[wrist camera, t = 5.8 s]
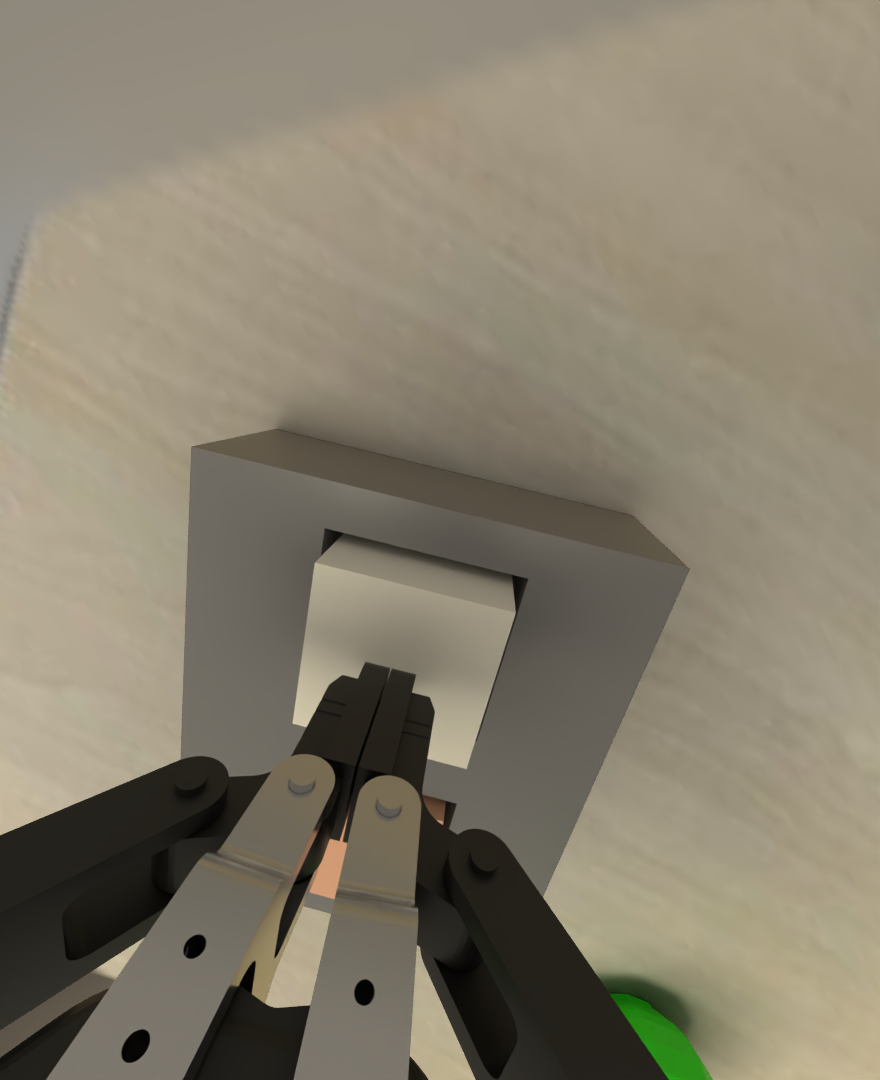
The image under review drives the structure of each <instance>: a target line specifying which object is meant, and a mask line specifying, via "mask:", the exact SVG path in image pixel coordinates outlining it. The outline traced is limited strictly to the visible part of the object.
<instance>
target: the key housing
mask: <svg viewBox="0 0 880 1080" xmlns="http://www.w3.org/2000/svg"><path fill="white" fill-rule="evenodd" d="M344 533H346V534H350V535H354V536H358V537H362V538H366V539H370V540H374V541H378V542H382V543H386V544H390V545H394V546H398V547H402V548H406V549H410V550H414V551H418V552H422V553H426V554H431V555H435V556H439V557H443V558H447V559H451V560H455V561H459V562H463V563H467V564H471V565H475V566H479V567H483V568H487V569H491V570H495V571H499V572H503V573H507V574H511V575H512V581H513V591H514V600H515V610H516V614H515V617H514V620H513V623H512V627H511V630H510V633H509V636H508V639H507V642H506V646H505V649H504V652H503V655H502V658H501V661H500V665H499V668H498V671H497V674H496V677H495V680H494V683H493V687H492V690H491V693H490V696H489V699H488V702H487V706H486V709H485V712H484V715H483V718H482V721H481V725H480V728H479V731H478V734H477V737H476V740H475V744H474V747H473V750H472V753H471V756H470V759H469V763H468V766H467V769H464V768H460V767H457V766H453V765H449V764H445V763H441V762H437V761H434V760H430V759H427V763H426V770H425V776H424V782H423V789H422V794H423V795H426V796H430V797H434V798H437V799H441V800H445V801H446V804H445V813H444V822H443V826H445V827H446V828H448V829H450V830H451V831H453V832H454V833H456V834H459V833H461V832H463V831H465V830H468V829H482V830H486V831H488V832H491V833H492V834H494V835H496V836H497V837H499V838H500V839H501V840H502V841H503V842H504V843H505V844H506V845H507V847H508V848H509V849H510V851H511V852H512V854H513V855H514V857H515V858H516V859H517V861H518V862H519V864H520V865H521V867H522V868H523V870H524V871H525V872H526V874H527V875H528V877H529V878H530V880H531V881H532V883H533V884H534V885H535V887H536V888H537V890H538V891H539V893H540V894H541V896H542V897H543V896H544V893H545V891H546V889H547V887H548V884H549V882H550V880H551V878H552V875H553V873H554V871H555V869H556V867H557V864H558V862H559V860H560V858H561V855H562V853H563V851H564V849H565V846H566V844H567V842H568V840H569V837H570V835H571V833H572V831H573V829H574V826H575V824H576V822H577V820H578V817H579V815H580V813H581V811H582V808H583V806H584V804H585V802H586V800H587V797H588V795H589V793H590V791H591V788H592V786H593V784H594V782H595V779H596V777H597V775H598V773H599V770H600V768H601V766H602V764H603V762H604V759H605V757H606V755H607V753H608V750H609V748H610V746H611V744H612V741H613V739H614V737H615V735H616V733H617V730H618V728H619V726H620V724H621V721H622V719H623V717H624V715H625V712H626V710H627V708H628V706H629V703H630V701H631V699H632V697H633V695H634V692H635V690H636V688H637V686H638V683H639V681H640V679H641V677H642V674H643V672H644V670H645V668H646V666H647V663H648V661H649V659H650V657H651V654H652V652H653V650H654V648H655V645H656V643H657V641H658V639H659V637H660V634H661V632H662V630H663V628H664V625H665V623H666V621H667V619H668V616H669V614H670V612H671V610H672V607H673V605H674V603H675V601H676V599H677V596H678V594H679V592H680V590H681V587H682V585H683V583H684V581H685V578H686V576H687V574H688V572H689V570H690V569H689V568H688V567H687V566H686V565H685V564H684V563H683V562H682V561H681V560H680V559H679V558H677V557H676V556H675V555H674V554H673V553H672V552H671V551H670V550H669V549H668V548H667V547H666V546H665V545H664V544H662V543H661V542H660V541H659V540H658V539H657V538H656V537H655V536H654V535H653V534H652V533H651V532H650V531H649V530H647V529H646V528H645V527H644V526H643V525H642V524H641V523H640V522H639V521H638V520H637V519H636V518H635V517H634V516H631V515H627V514H623V513H619V512H615V511H611V510H606V509H602V508H598V507H594V506H590V505H586V504H582V503H578V502H573V501H569V500H565V499H561V498H557V497H553V496H549V495H545V494H541V493H536V492H532V491H528V490H524V489H520V488H516V487H512V486H508V485H503V484H499V483H495V482H491V481H487V480H483V479H479V478H475V477H471V476H466V475H462V474H458V473H454V472H450V471H446V470H442V469H438V468H433V467H429V466H425V465H421V464H417V463H413V462H409V461H405V460H401V459H396V458H392V457H388V456H384V455H380V454H376V453H372V452H368V451H363V450H359V449H355V448H351V447H347V446H343V445H339V444H335V443H331V442H326V441H322V440H318V439H314V438H310V437H306V436H302V435H298V434H294V433H289V432H285V431H281V430H277V429H274V430H269V431H265V432H260V433H255V434H250V435H245V436H240V437H236V438H231V439H226V440H221V441H216V442H211V443H207V444H202V445H197V446H192V447H191V472H190V501H189V530H188V559H187V589H186V618H185V647H184V676H183V705H182V735H181V760H182V759H185V758H189V757H194V756H206V757H211V758H214V759H217V760H218V761H220V762H221V763H223V764H224V766H225V767H226V769H227V771H228V774H229V777H231V776H254V775H261V774H265V773H268V772H271V771H272V770H273V769H274V768H275V767H276V765H278V764H279V763H280V762H281V761H283V760H284V759H286V758H288V757H291V755H292V754H293V752H294V750H295V748H296V746H297V744H298V742H299V741H300V739H301V737H302V735H303V733H304V731H305V729H306V727H304V726H300V725H296V724H292V723H293V716H294V709H295V702H296V694H297V687H298V680H299V673H300V666H301V658H302V651H303V644H304V637H305V629H306V622H307V615H308V608H309V601H310V593H311V586H312V579H313V572H314V565H315V562H316V561H317V560H318V559H319V558H320V557H321V556H322V555H323V554H324V553H325V552H326V551H327V550H328V549H329V548H330V547H331V546H332V545H333V544H334V543H335V542H336V541H337V540H338V539H339V538H340V537H341V536H342V535H343V534H344ZM333 904H334V899H332V898H328V897H325V896H321V895H317V894H314V893H310V892H309V894H308V896H307V899H306V901H305V903H304V906H305V907H309V908H312V909H316V910H320V911H323V912H327V913H332V908H333Z"/></svg>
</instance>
